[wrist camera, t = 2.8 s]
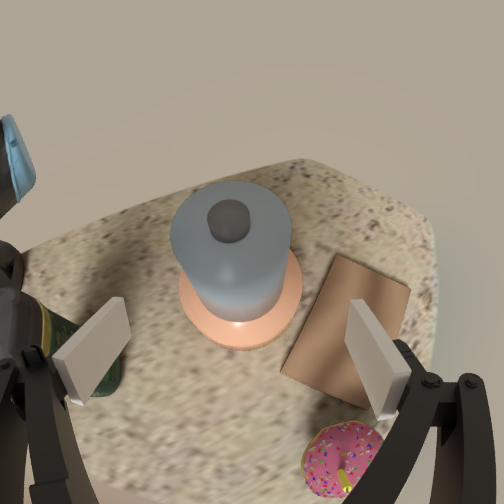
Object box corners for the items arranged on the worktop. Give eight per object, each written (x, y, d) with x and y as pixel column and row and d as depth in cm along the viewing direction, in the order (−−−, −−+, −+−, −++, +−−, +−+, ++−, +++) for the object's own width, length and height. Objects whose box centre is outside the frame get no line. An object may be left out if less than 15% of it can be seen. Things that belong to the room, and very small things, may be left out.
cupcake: (317, 497, 22) (344, 540, 11) (281, 443, 26) (292, 469, 15) (381, 457, 24) (435, 476, 13) (348, 403, 27) (393, 404, 17)
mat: (279, 372, 30) (280, 371, 29) (335, 258, 36) (336, 254, 35) (365, 409, 27) (368, 409, 26) (408, 292, 33) (411, 289, 32)
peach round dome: (169, 316, 33) (155, 303, 29) (224, 234, 38) (219, 211, 34) (265, 370, 30) (266, 365, 25) (314, 275, 35) (321, 256, 31)
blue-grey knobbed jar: (180, 296, 29) (141, 240, 19) (225, 230, 33) (210, 157, 23) (257, 338, 27) (254, 300, 17) (297, 263, 30) (312, 195, 21)
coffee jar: (123, 336, 32) (22, 272, 16) (124, 399, 28) (10, 381, 12) (64, 337, 32) (-36, 281, 15) (63, 393, 28) (-47, 364, 12)
